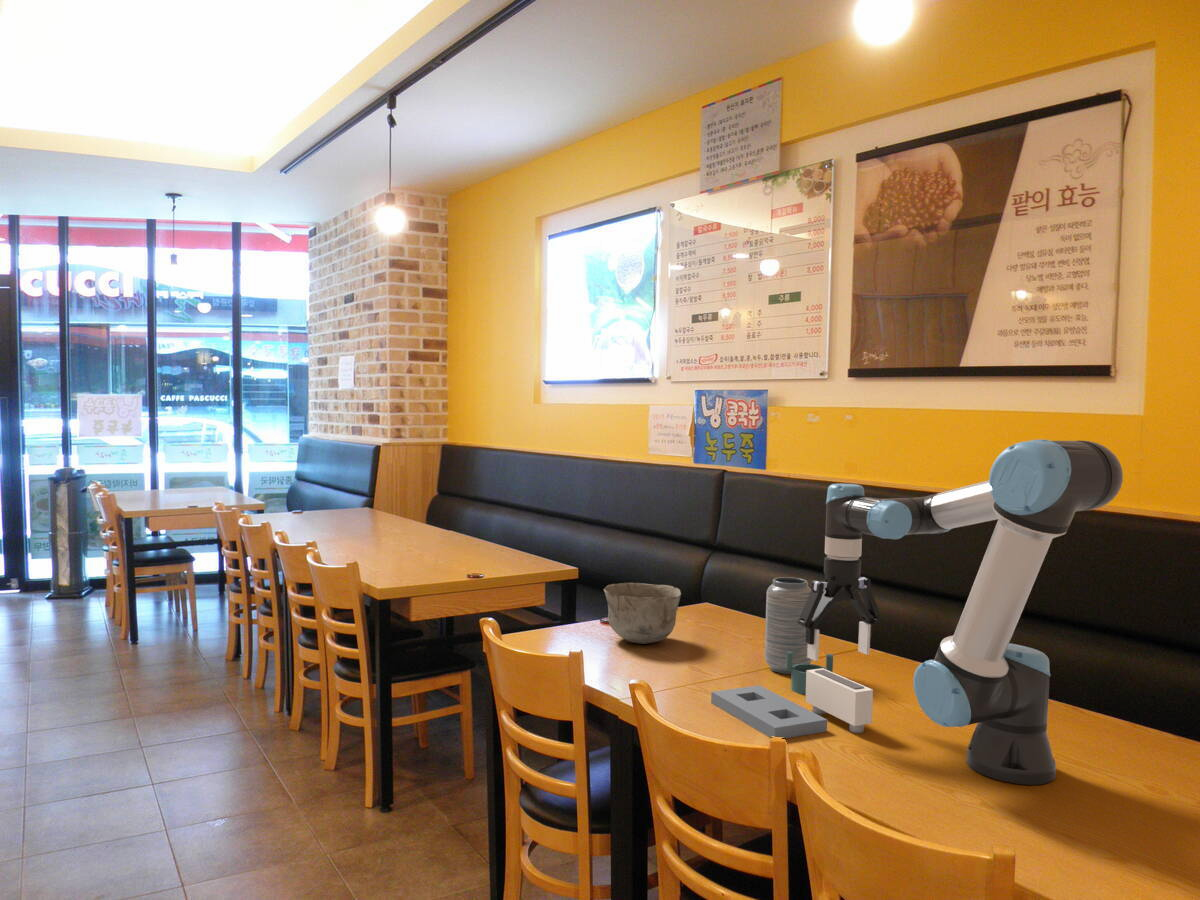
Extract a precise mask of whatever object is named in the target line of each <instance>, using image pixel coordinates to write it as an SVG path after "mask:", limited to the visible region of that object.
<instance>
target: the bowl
mask: <svg viewBox="0 0 1200 900" xmlns="http://www.w3.org/2000/svg"><path fill="white" fill-rule="evenodd" d="M603 592H604V595H605V597H606V601H607V602H606V603H607V609H608V615H607V620H608V624H609V626H610V628H611V629H612V631H614V633H615V634H617V635H618V636H619V637H620V638H622V639H623V640H625V641H627V642H630V643H634V644H640V645H647V644H653V643H656V642H660V641H663V640H664V639H666V638H668V636H670V635H671V633H672V632H673V630H674V628H675V625H676V622H677V611H678V610H679V603H680V599H681V595H682V592H681V589H679V587H675V586H672V585H668V584H651V583H642V582H620V583H612V584H608V585H607V586H605V587H604V588H603Z"/></svg>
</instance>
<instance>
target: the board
mask: <svg viewBox="0 0 1200 900" xmlns="http://www.w3.org/2000/svg"><path fill="white" fill-rule="evenodd" d="M710 695H711V700H710V701H711V704H713V705H714V706H716V707H717V708H719V709H721V710H723V711H724V712H726V713H728V714H729V715H731V716H733V717H735V718H736V719H738V720H740V721H741V722H743V723H745V724H747V726H750V727H751V728H753V729H754V730H757V731H759V732H760V733H762V734H764V735H765V736H766V737H768V738H770V737H771V736H775V737H785V739H790V738H795V737H801V736H802V737H803V736H808V735H814V734H819V733H826V732H827V731H828V719H827V718H824V717H823V716H822V715H820V714H815V713H813V711H811V710H810V709H808V708H805V707H803V706H801V705H799V704H797V703H795V702H793V701H791V700H790V699H788V698H785V697H784V696H782V695H780V694H779V693H778V694H777V693H775V692H774V691H772V690H770V689H768V688H767V687H764V686H762V685H760V684H758V685H752V686H745V687H744V686H743V687H738V688H730V689H723V690H716V691H715V690H714V691H711V694H710Z"/></svg>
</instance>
